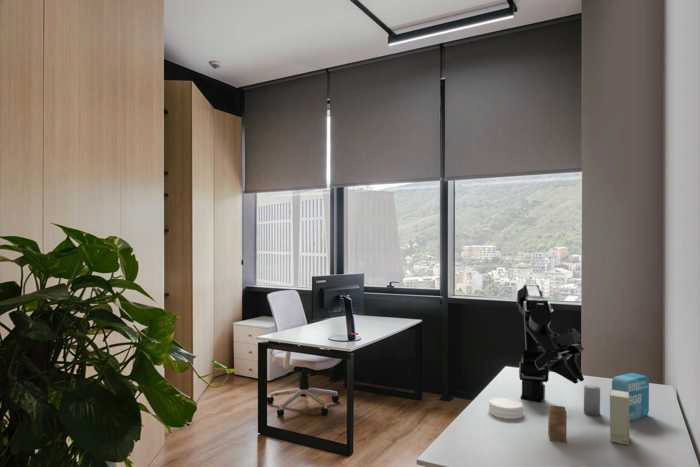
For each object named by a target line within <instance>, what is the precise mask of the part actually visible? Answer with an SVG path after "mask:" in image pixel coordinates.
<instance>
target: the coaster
mask: <svg viewBox="0 0 700 467" xmlns="http://www.w3.org/2000/svg"><path fill="white" fill-rule="evenodd" d="M488 412H489V414H490V415H492V416H493V415H494V417H496V418H499V419H503V418H504V419H503V420H519V419H521V418H523V416H524V404H523V403H522V402H521V401H519V400H517V399H515V398H514V399H513V398H510V397H502V396H500V397H492V398H491V399H489V400H488ZM518 418H519V419H518Z"/></svg>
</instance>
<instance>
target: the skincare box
mask: <svg viewBox="0 0 700 467" xmlns="http://www.w3.org/2000/svg"><path fill="white" fill-rule="evenodd" d="M609 437H610V438H609V441H610V442H612V443H617V444H622V445H628V446H629V445H630V421H629V392H624V391H617V390H612V389H610V393H609Z"/></svg>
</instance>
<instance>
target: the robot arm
mask: <svg viewBox="0 0 700 467" xmlns="http://www.w3.org/2000/svg"><path fill="white" fill-rule="evenodd" d="M522 286H523V287H522V288H520V289H519V290H517V294H516V305H517V306H518V311H519V313H521V315H522V316H523V322H524V325H523V326H524V341H525V350H524V351H523V353H522V356H521V360H520V361H519V365H518V366H519V367H518V377H519V380H520V381H521V395H520V399H521V400H527V401H534V402H538V403H541V402H543V400H545V397H546V385H545V384H544V383H548V382H549V374H550V371H552V372H554V373H556V375H557V374H558V375H559V376H561V377H563V378H565V379H566V380H568V381H570V382H571V383H573V384H575V385H576V384H578V383H579V381H580V383H581V382H583V381H585V378H584V375H583V373H582V371H581V368H580V366H579V363H578V357H579V355H580V354H581V353H583V351H585V348H583V346H582V345H581V344H580V343H581V342H582V340H581V336H582V334H581V333H580V332H579V331H578V330H576V328H571V329H568V330H567V332H566V333H563V334H559V332H553V330H552V329H551V328H550V324H551V321H552V318H553V315H554V309H553V306H552V305H551V303H550V302H549V301H548V298H546V297H544V296H543V292H542V290H541V289H540V286H539V284H536V283H535V284H534V283H533V284H532V283H525V284H523V285H522ZM541 350H542V351H541ZM548 364H549V366H548Z"/></svg>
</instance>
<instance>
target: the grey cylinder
mask: <svg viewBox="0 0 700 467" xmlns="http://www.w3.org/2000/svg"><path fill="white" fill-rule="evenodd" d="M583 413H584V414H585V415H589V416H592V417H599V416H600V415H601V388H600V386H597V385H593V384H584V386H583Z"/></svg>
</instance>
